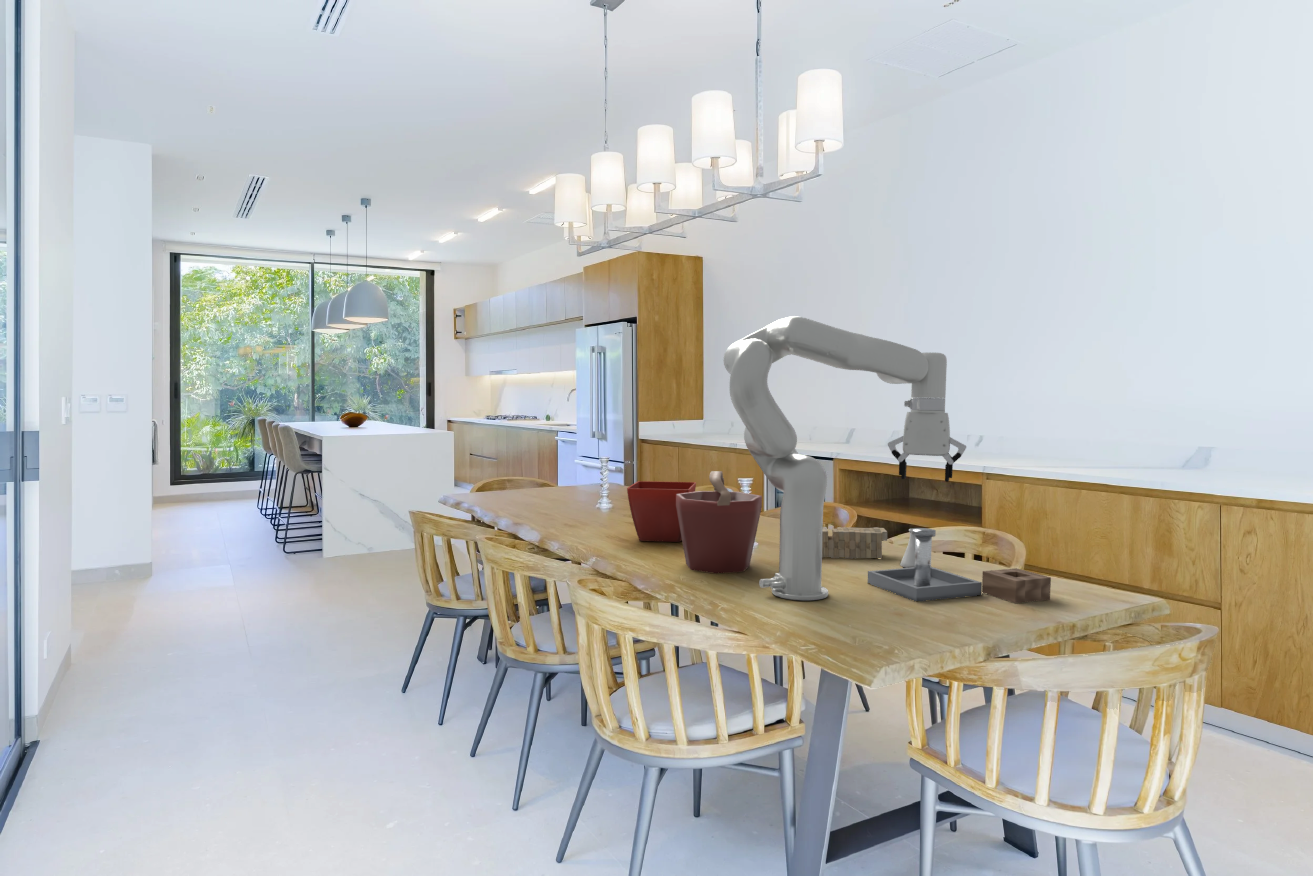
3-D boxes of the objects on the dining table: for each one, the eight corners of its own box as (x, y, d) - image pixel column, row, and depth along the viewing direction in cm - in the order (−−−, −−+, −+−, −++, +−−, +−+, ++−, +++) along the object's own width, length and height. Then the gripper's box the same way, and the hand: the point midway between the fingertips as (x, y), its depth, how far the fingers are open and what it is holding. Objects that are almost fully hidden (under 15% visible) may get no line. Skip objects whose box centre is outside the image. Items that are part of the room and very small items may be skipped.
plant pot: (625, 542, 243) (626, 487, 243) (637, 532, 262) (638, 480, 261) (688, 545, 240) (689, 489, 239) (695, 534, 259) (696, 482, 258)
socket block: (1015, 603, 177) (1015, 580, 176) (981, 592, 186) (982, 571, 186) (1050, 599, 180) (1050, 577, 180) (1015, 589, 189) (1016, 568, 189)
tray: (916, 601, 177) (916, 588, 177) (867, 583, 194) (867, 571, 194) (981, 595, 183) (981, 582, 183) (928, 578, 200) (929, 566, 200)
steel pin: (920, 589, 185) (922, 532, 185) (905, 584, 190) (907, 528, 190) (938, 587, 187) (940, 531, 186) (924, 582, 192) (925, 527, 191)
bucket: (746, 580, 197) (747, 478, 195) (660, 572, 204) (661, 474, 202) (765, 560, 220) (767, 469, 218) (688, 554, 227) (689, 466, 225)
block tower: (780, 560, 226) (888, 560, 222) (780, 530, 225) (887, 530, 222) (780, 554, 234) (883, 554, 230) (779, 525, 233) (883, 525, 229)
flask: (929, 570, 209) (931, 532, 208) (900, 569, 211) (901, 531, 210) (926, 565, 216) (928, 528, 215) (898, 563, 218) (899, 526, 217)
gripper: (886, 405, 186) (884, 479, 187) (966, 407, 179) (963, 483, 180) (891, 405, 193) (889, 476, 194) (968, 407, 186) (965, 480, 187)
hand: (925, 479), depth 187 cm, fingers open, 9 cm apart
